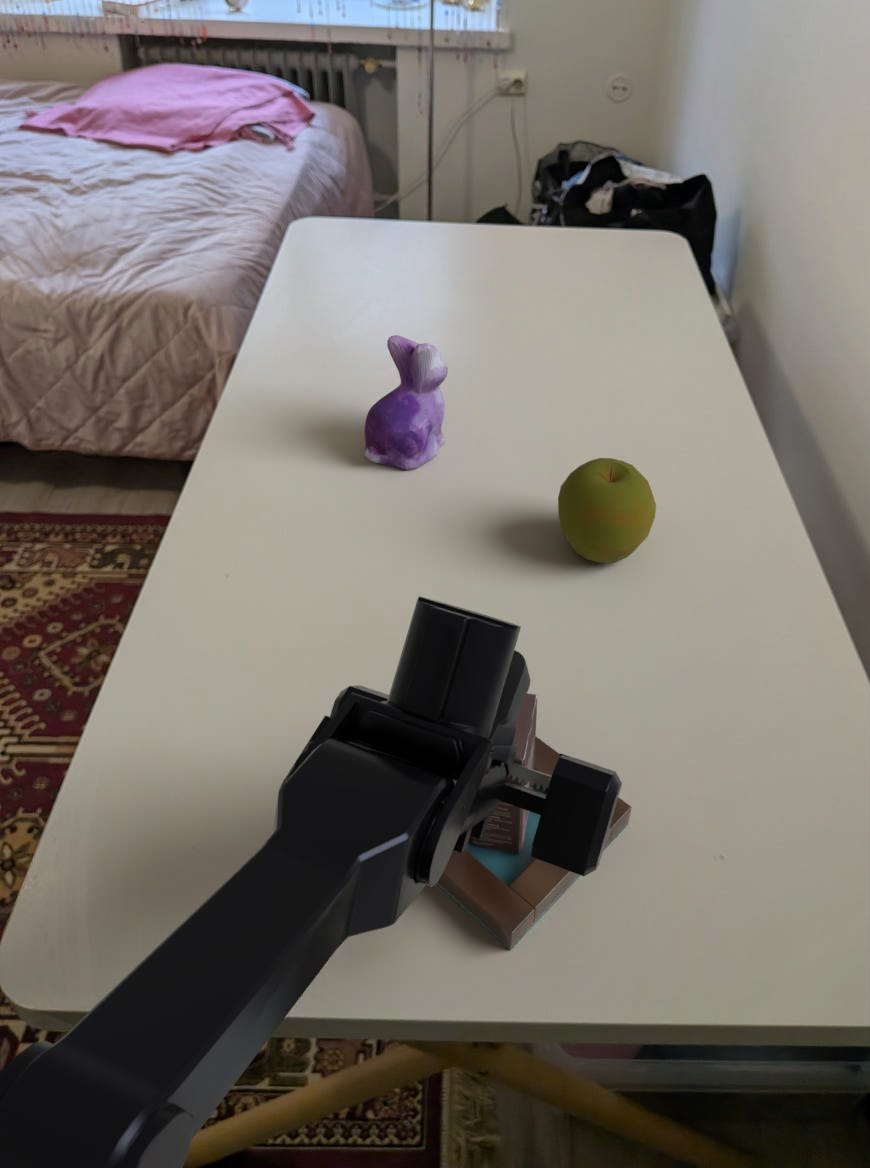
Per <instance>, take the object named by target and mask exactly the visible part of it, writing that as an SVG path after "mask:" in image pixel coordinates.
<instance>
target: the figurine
mask: <svg viewBox="0 0 870 1168" xmlns="http://www.w3.org/2000/svg"><path fill="white" fill-rule="evenodd" d="M386 344H387V345H386V346H387V349H388V352H389V355H390V357H391V359H392V361H393V363H394V365H395V367H396V369H397V371H398V374H399V379H400V384H399V385H398V386H397V387H396V388H394V389H393V390H391V391H390V392H388V393H387V394H385V395H384V396H382V397H381V398H380V399H379V400H377V401H376V402H375V403H374V404H373V405H372V406H371V407H370V408H369V410H368V412H367V413H366V414H367V415H366V417H365V422H364V443H365V444H364V456H365V457H366V459H368V460H370V461H371V462H373V463H375V464H382V465H386V466H391V467H393V468H398V469H401V470H404V471H410V470H416V469H418V468H420V467H422V466H423V465H425V464H426V463H428V462H430V461H431V460H433V459H434V458H435V457H437V455H438V452H439V449H440V447H442V445H443V444H444V443H445V436H444V434H443V431H442V428H443V422H444V418H445V410H446V403H445V402H446V401H445V398H444V395H443V392H442V390H441V387H440V386H441V385H442V383H443V382H444V381H445V380H446V378H447V377H448V371H449V368H448V365H447V363H445V361H444V360H443V357H442V352H441V350H440V349H439V348H438V347H436V346H435V345H433V344H429V343H426V342H425V343H419V342H416V341H413V340H411V339H409V338H407V337H405V336H401V335H398V334H395V335H390V336H389V337H388V339H387V343H386Z"/></svg>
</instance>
